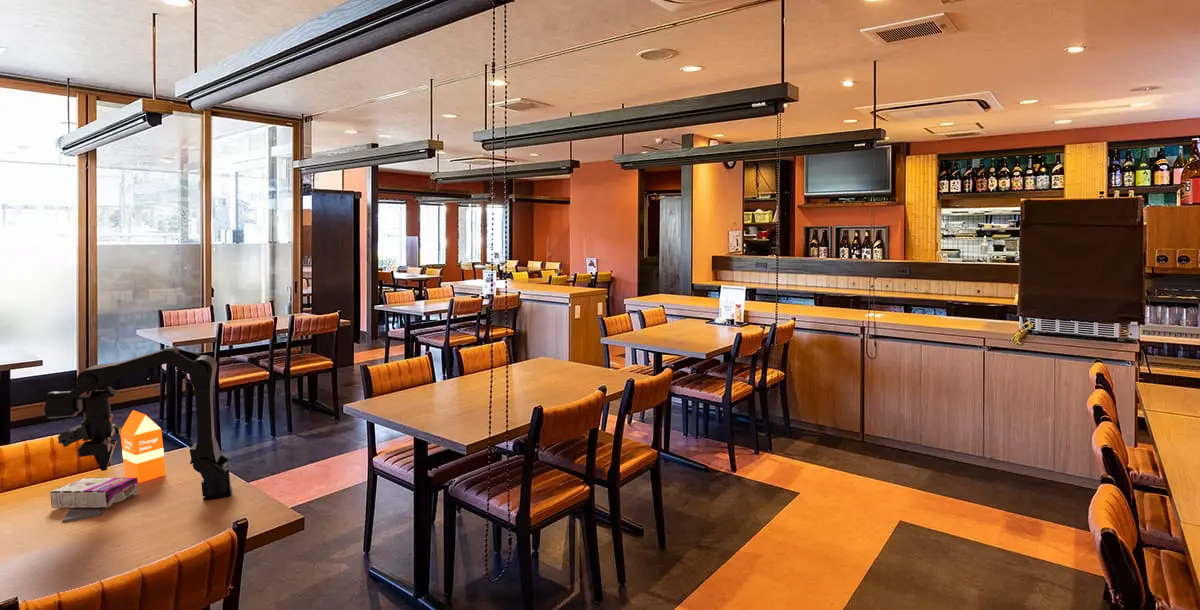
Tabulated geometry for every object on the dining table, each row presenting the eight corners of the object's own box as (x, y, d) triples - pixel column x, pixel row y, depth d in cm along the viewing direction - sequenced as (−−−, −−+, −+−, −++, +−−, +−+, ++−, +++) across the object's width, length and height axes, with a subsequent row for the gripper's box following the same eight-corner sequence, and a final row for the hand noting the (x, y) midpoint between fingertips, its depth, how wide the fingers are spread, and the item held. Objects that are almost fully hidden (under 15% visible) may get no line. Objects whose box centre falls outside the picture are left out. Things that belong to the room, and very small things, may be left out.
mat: (107, 502, 183) (107, 500, 182) (100, 515, 175) (100, 513, 175) (71, 508, 179) (71, 506, 179) (62, 522, 171) (62, 520, 171)
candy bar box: (139, 494, 187) (86, 493, 189) (138, 477, 187) (84, 476, 188) (106, 509, 176) (50, 508, 178) (105, 491, 176) (48, 490, 177)
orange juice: (138, 483, 196) (130, 418, 193) (124, 477, 200) (117, 413, 198) (166, 474, 202) (160, 411, 199) (153, 468, 207) (146, 406, 204)
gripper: (68, 408, 180) (75, 463, 182) (48, 428, 163) (56, 488, 165) (118, 403, 185) (124, 456, 187) (104, 422, 168) (110, 480, 170)
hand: (104, 470), depth 177 cm, fingers closed
